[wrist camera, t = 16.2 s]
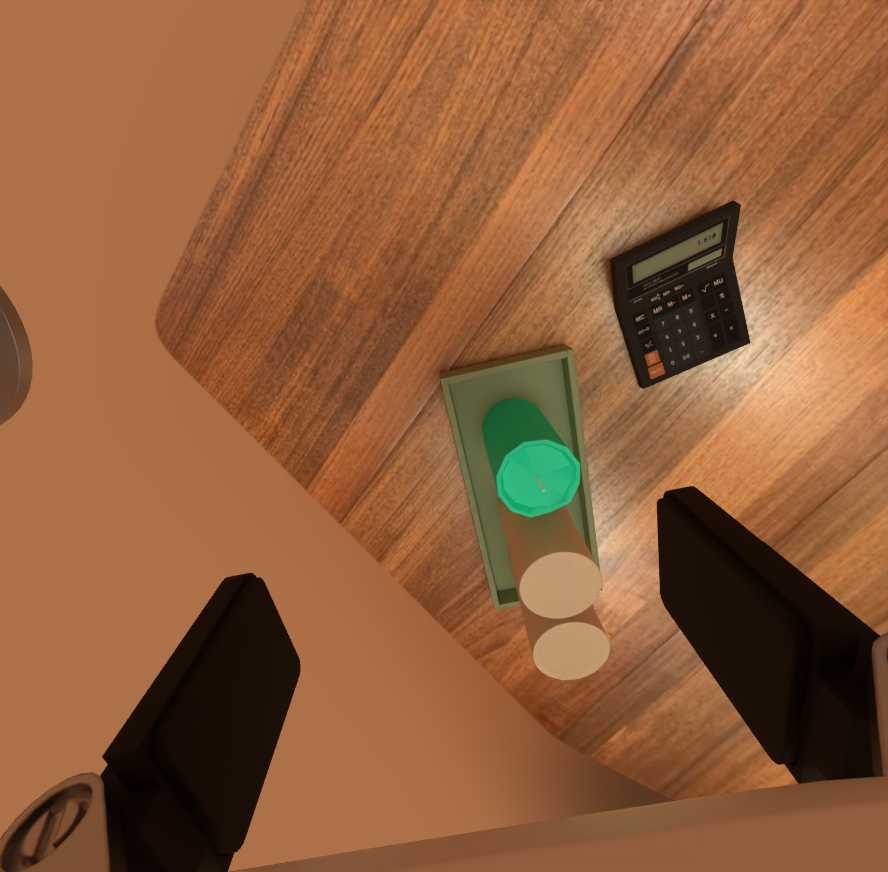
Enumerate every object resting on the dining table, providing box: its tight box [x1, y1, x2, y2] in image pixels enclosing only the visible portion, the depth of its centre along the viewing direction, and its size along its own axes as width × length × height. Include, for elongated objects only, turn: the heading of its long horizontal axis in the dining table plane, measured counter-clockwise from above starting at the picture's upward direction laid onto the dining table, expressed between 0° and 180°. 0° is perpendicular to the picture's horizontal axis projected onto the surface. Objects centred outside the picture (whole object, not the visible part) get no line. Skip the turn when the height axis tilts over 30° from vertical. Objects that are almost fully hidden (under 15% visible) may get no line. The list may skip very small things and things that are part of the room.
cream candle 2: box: [510, 556, 610, 680], centre depth 39 cm, size 6×6×12 cm
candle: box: [482, 398, 580, 517], centre depth 33 cm, size 6×6×12 cm
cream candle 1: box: [498, 498, 602, 619], centre depth 36 cm, size 6×6×12 cm
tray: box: [440, 344, 602, 610], centre depth 40 cm, size 11×25×2 cm, turn 13°
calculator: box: [610, 201, 750, 389], centre depth 34 cm, size 9×12×3 cm
